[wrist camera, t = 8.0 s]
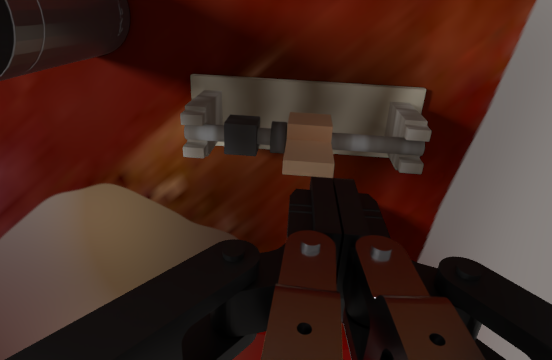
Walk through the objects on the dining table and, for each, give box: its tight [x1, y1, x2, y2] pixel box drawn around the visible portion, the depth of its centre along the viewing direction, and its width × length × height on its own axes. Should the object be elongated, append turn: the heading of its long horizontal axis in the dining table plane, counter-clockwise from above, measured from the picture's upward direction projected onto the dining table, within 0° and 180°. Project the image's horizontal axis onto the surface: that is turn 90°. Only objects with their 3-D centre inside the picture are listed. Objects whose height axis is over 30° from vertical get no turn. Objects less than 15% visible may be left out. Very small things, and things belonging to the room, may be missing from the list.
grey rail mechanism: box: [180, 74, 432, 174], centre depth 38 cm, size 26×8×10 cm, turn 87°
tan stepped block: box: [282, 112, 334, 178], centre depth 33 cm, size 4×4×9 cm
